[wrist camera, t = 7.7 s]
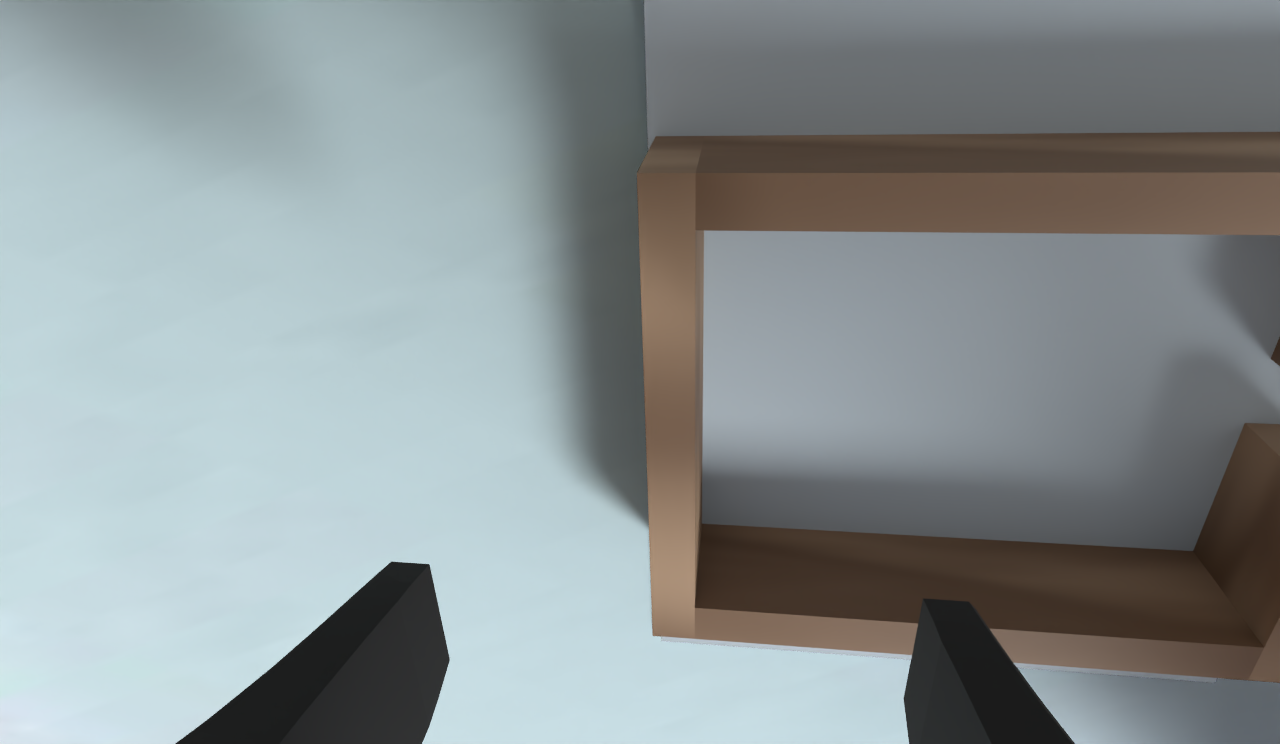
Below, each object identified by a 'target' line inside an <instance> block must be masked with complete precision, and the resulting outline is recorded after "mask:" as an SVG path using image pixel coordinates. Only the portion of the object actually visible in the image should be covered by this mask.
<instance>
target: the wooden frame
mask: <svg viewBox="0 0 1280 744" xmlns="http://www.w3.org/2000/svg"><path fill="white" fill-rule="evenodd" d="M637 195H638V224H639V253H640V282H641V311H642V339H643V368H644V397H645V426H646V455H647V484H648V513H649V542H650V571H651V600H652V629H653V636H662V637H676V638H689V639H702V640H716V641H729V642H743V643H756V644H769V645H783V646H796V647H809V648H823V649H836V650H849V651H863V652H876V653H890V654H903V655H912V653H913V648H914V643H915V638H916V632H917V627H918V622H919V617H920V611H921V606H922V601H923V598H925V599H939V600H954V601H968V602H970V603H971V604H972V605H973V606H974V607H975V609H976V610H977V611H978V613H979V614H980V616H981V617H982V619H983V620H984V622H985V623H986V625H987V626H988V627H989V629H990V630H991V632H992V633H993V635H994V636H995V638H996V639H997V640H998V642H999V643H1000V645H1001V646H1002V648H1003V649H1004V650H1005V652H1006V653H1007V655H1008V656H1009V657H1010V659H1011V660H1012V662H1013V663H1023V664H1037V665H1050V666H1063V667H1077V668H1090V669H1103V670H1117V671H1130V672H1144V673H1157V674H1170V675H1184V676H1197V677H1210V678H1224V679H1237V680H1251V681H1264V682H1277V683H1280V424H1259V423H1245V424H1244V426H1243V429H1242V431H1241V434H1240V436H1239V439H1238V441H1237V444H1236V446H1235V449H1234V451H1233V453H1232V456H1231V458H1230V461H1229V463H1228V466H1227V468H1226V471H1225V473H1224V476H1223V478H1222V481H1221V483H1220V486H1219V488H1218V491H1217V493H1216V496H1215V498H1214V501H1213V503H1212V506H1211V508H1210V510H1209V513H1208V515H1207V518H1206V520H1205V523H1204V525H1203V528H1202V530H1201V533H1200V535H1199V538H1198V540H1197V543H1196V545H1195V548H1194V550H1193V551H1183V550H1165V549H1147V548H1129V547H1111V546H1093V545H1076V544H1058V543H1040V542H1022V541H1004V540H986V539H968V538H950V537H933V536H915V535H897V534H879V533H861V532H843V531H825V530H807V529H789V528H772V527H754V526H736V525H718V524H702V452H703V316H704V231H819V232H941V233H1063V234H1186V235H1280V132H1172V133H1034V134H896V135H758V136H656V137H655V139H654V141H653V143H652V144H651V146H650V148H649V150H648V152H647V154H646V156H645V158H644V160H643V162H642V164H641V166H640V168H639V170H638V172H637ZM1271 360H1272V361H1274V362H1275V363H1276V364H1278V365H1279V366H1280V337H1279V339H1278V342H1277V344H1276V347H1275V349H1274V352H1273V354H1272V357H1271Z"/></svg>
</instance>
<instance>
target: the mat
mask: <svg viewBox="0 0 1280 744" xmlns="http://www.w3.org/2000/svg"><path fill="white" fill-rule="evenodd" d="M644 27H645V64H646V100H647V137H648V150H649V148H650V146H651V144H652V143H653V141H654V139H655V137H656V136H758V135H896V134H1034V133H1172V132H1280V0H644ZM1279 337H1280V235H1186V234H1063V233H941V232H819V231H704V316H703V452H702V524H718V525H736V526H754V527H772V528H789V529H807V530H825V531H843V532H861V533H879V534H897V535H915V536H933V537H950V538H968V539H986V540H1004V541H1022V542H1040V543H1058V544H1076V545H1093V546H1111V547H1129V548H1147V549H1165V550H1183V551H1193V550H1194V548H1195V545H1196V543H1197V540H1198V538H1199V535H1200V533H1201V530H1202V528H1203V525H1204V523H1205V520H1206V518H1207V515H1208V513H1209V510H1210V508H1211V506H1212V503H1213V501H1214V498H1215V496H1216V493H1217V491H1218V488H1219V486H1220V483H1221V481H1222V478H1223V476H1224V473H1225V471H1226V468H1227V466H1228V463H1229V461H1230V458H1231V456H1232V453H1233V451H1234V449H1235V446H1236V444H1237V441H1238V439H1239V436H1240V434H1241V431H1242V429H1243V426H1244V424H1245V423H1259V424H1280V366H1279V365H1278V364H1276V363H1275V362H1274V361H1272V360H1271V357H1272V354H1273V352H1274V349H1275V347H1276V344H1277V342H1278V339H1279ZM661 641H667V642H680V643H694V644H707V645H720V646H733V647H747V648H760V649H773V650H786V651H800V652H813V653H826V654H839V655H853V656H866V657H879V658H892V659H906V660H911V658H912V655H903V654H890V653H876V652H863V651H849V650H836V649H823V648H809V647H796V646H783V645H769V644H756V643H743V642H729V641H716V640H702V639H689V638H676V637H662V636H661ZM1014 664H1015V666H1016V667H1017V668H1025V669H1038V670H1051V671H1065V672H1078V673H1091V674H1104V675H1118V676H1131V677H1144V678H1157V679H1170V680H1184V681H1197V682H1210V683H1215V682H1216V680H1217V678H1210V677H1197V676H1184V675H1170V674H1157V673H1144V672H1130V671H1117V670H1103V669H1090V668H1077V667H1063V666H1050V665H1037V664H1023V663H1014Z"/></svg>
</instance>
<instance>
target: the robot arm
mask: <svg viewBox="0 0 1280 744" xmlns="http://www.w3.org/2000/svg"><path fill="white" fill-rule="evenodd" d="M449 660H450V659H449V654H448V650H447V645H446V640H445V636H444V631H443V626H442V621H441V617H440V612H439V607H438V603H437V598H436V593H435V589H434V584H433V579H432V574H431V570H430V565H429V564H417V563H402V562H391V563H389V564H388V565H387V566H386V567H385V568H384V569H383V570H381V571H380V572H379V573H378V574H377V575H376V576H375V577H374V578H372V579H371V580H370V581H369V582H368V583H367V584H366V585H365V586H363V587H362V588H361V589H360V590H359V591H358V592H357V593H356V594H355V595H353V596H352V597H351V598H350V599H349V600H348V601H347V602H346V603H345V604H343V605H342V606H341V607H340V608H339V609H338V610H337V611H336V612H335V613H333V614H332V615H331V616H330V617H329V618H328V619H327V620H326V621H325V622H323V623H322V624H321V625H320V626H319V627H318V628H317V629H316V630H315V631H313V632H312V633H311V634H310V635H309V636H308V637H307V638H305V639H304V640H303V641H302V642H301V643H300V644H298V645H297V646H296V647H295V648H294V649H293V650H292V651H290V652H289V653H288V654H287V655H286V656H285V657H284V658H282V659H281V660H280V661H279V662H278V663H277V664H276V665H274V666H273V667H272V668H271V669H270V670H268V671H267V672H266V673H265V674H264V675H262V676H261V677H260V678H259V679H257V680H256V681H255V682H254V683H252V684H251V685H250V686H249V687H248V688H246V689H245V690H244V691H243V692H241V693H240V694H239V695H238V696H236V697H235V698H234V699H233V700H231V701H230V702H229V703H228V704H227V705H225V706H224V707H223V708H222V709H220V710H219V711H218V712H217V713H215V714H214V715H213V716H212V717H210V718H209V719H208V720H207V721H205V722H204V723H203V724H201V725H200V726H199V727H197V728H196V729H195V730H193V731H192V732H191V733H189V734H188V735H187V736H185V737H184V738H183V739H181V740H180V741H178V742H177V743H176V744H422V742H423V740H424V737H425V735H426V733H427V730H428V728H429V725H430V722H431V719H432V716H433V713H434V710H435V707H436V704H437V701H438V697H439V694H440V691H441V687H442V684H443V681H444V677H445V674H446V671H447V667H448V664H449ZM904 704H905V712H906V721H907V729H908V737H909V744H1075V743H1074V742H1073V741H1072V739H1071V738H1070V737H1069V736H1068V734H1067V733H1066V732H1065V731H1064V729H1063V728H1062V727H1061V725H1060V724H1059V723H1058V722H1057V720H1056V719H1055V718H1054V717H1053V715H1052V714H1051V713H1050V711H1049V710H1048V709H1047V708H1046V706H1045V705H1044V704H1043V702H1042V701H1041V700H1040V698H1039V697H1038V696H1037V694H1036V693H1035V692H1034V690H1033V689H1032V688H1031V686H1030V685H1029V684H1028V682H1027V681H1026V679H1025V678H1024V677H1023V675H1022V674H1021V673H1020V671H1019V670H1018V668H1017V667H1016V666H1015V664H1014V663H1013V662H1012V660H1011V659H1010V657H1009V656H1008V655H1007V653H1006V652H1005V650H1004V649H1003V648H1002V646H1001V645H1000V643H999V642H998V640H997V639H996V638H995V636H994V635H993V633H992V632H991V630H990V629H989V627H988V626H987V625H986V623H985V622H984V620H983V619H982V617H981V616H980V614H979V613H978V611H977V610H976V609H975V607H974V606H973V605H972V604H971V603H970V602H968V601H954V600H939V599H925V598H923V601H922V606H921V611H920V617H919V622H918V627H917V632H916V638H915V643H914V648H913V653H912V658H911V664H910V669H909V674H908V679H907V685H906V690H905V695H904Z"/></svg>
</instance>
